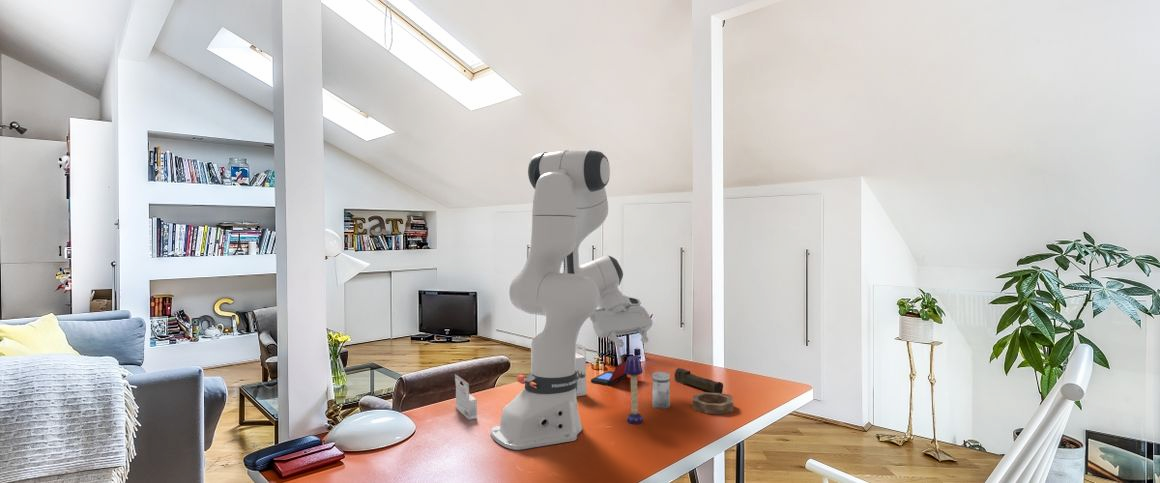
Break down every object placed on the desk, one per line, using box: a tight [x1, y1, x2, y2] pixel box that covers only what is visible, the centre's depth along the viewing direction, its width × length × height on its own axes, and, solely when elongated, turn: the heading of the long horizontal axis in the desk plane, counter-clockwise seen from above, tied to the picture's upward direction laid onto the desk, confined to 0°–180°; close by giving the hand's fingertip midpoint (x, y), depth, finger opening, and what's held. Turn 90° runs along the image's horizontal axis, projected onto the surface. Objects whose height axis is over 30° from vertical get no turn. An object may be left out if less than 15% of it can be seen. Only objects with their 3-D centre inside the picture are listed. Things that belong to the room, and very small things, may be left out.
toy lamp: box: [625, 355, 644, 425], centre depth 135 cm, size 5×5×17 cm
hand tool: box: [674, 367, 724, 394], centre depth 164 cm, size 19×4×5 cm, turn 32°
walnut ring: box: [692, 391, 734, 415], centre depth 145 cm, size 11×11×2 cm
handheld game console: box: [590, 360, 628, 387], centre depth 172 cm, size 12×11×7 cm
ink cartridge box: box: [454, 373, 478, 421], centre depth 141 cm, size 2×11×10 cm, turn 32°
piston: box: [651, 371, 671, 410], centre depth 147 cm, size 5×5×9 cm
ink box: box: [575, 342, 587, 398], centre depth 159 cm, size 8×5×15 cm, turn 26°
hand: (633, 344), depth 157 cm, fingers open, 8 cm apart
